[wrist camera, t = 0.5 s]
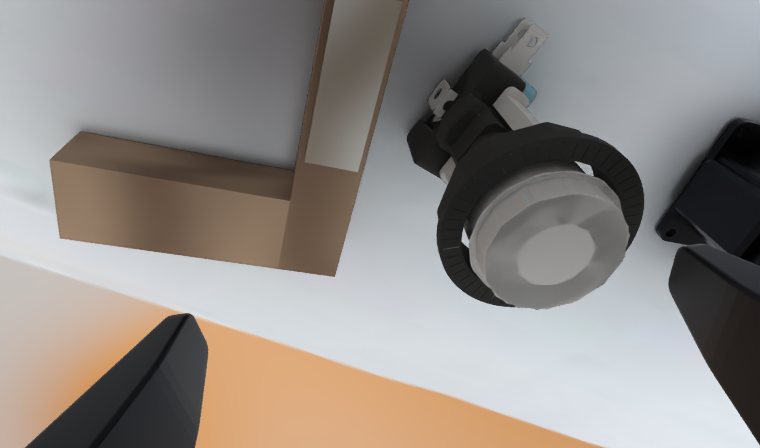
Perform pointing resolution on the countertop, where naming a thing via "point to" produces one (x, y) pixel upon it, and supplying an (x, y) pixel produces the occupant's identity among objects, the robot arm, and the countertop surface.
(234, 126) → the countertop surface
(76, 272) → the countertop surface
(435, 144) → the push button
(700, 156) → the countertop surface
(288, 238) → the notched board
